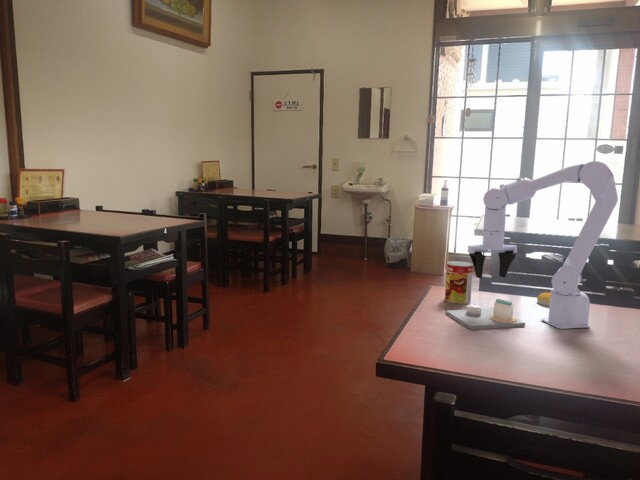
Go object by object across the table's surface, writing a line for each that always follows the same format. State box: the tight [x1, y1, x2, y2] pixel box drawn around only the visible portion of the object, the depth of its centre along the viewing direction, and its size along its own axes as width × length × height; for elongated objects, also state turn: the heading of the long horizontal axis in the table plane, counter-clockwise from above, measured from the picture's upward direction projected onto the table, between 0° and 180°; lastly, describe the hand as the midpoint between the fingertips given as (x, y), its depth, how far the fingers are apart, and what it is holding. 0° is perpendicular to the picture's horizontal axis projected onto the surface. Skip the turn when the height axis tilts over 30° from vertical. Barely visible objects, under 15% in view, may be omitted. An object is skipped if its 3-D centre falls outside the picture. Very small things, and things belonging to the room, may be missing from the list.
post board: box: [445, 304, 526, 330], centre depth 137 cm, size 16×14×3 cm
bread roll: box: [536, 291, 551, 307], centre depth 154 cm, size 8×9×4 cm
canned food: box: [444, 260, 474, 305], centre depth 156 cm, size 8×8×12 cm
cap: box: [493, 298, 515, 321], centre depth 135 cm, size 5×5×5 cm
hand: (490, 277), depth 144 cm, fingers open, 7 cm apart
